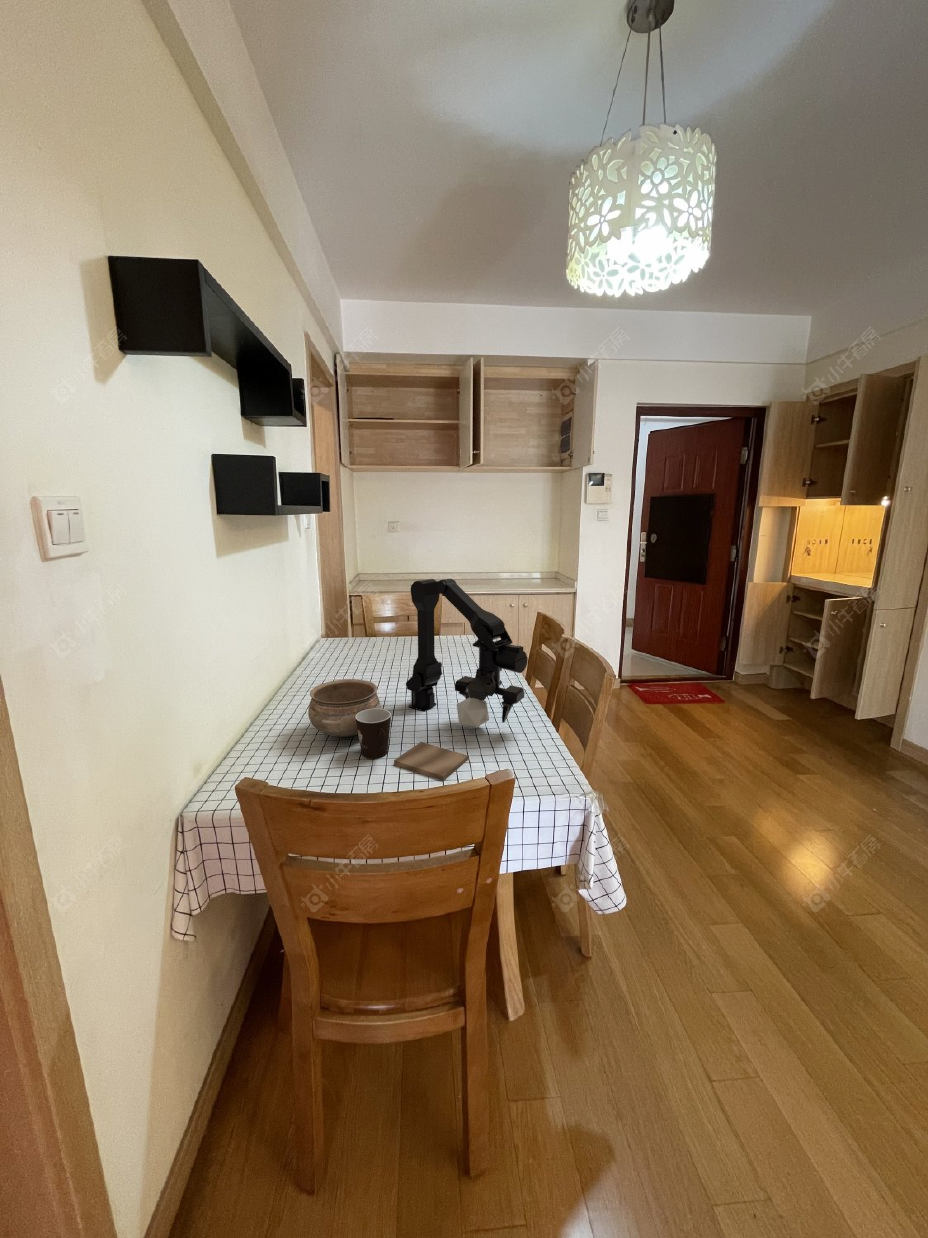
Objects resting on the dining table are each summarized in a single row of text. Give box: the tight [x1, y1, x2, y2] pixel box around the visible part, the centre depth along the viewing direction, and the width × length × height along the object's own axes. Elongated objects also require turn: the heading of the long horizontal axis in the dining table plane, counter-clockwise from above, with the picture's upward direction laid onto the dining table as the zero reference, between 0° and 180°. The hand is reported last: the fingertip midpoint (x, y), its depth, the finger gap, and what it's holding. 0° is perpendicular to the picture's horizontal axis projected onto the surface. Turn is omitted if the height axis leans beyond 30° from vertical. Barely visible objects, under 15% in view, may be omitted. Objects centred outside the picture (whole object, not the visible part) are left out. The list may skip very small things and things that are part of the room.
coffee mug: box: [355, 708, 392, 760], centre depth 118 cm, size 12×9×10 cm
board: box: [393, 741, 469, 782], centre depth 116 cm, size 14×11×1 cm
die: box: [456, 697, 490, 730], centre depth 132 cm, size 8×9×10 cm
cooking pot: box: [307, 678, 382, 739], centre depth 130 cm, size 25×19×12 cm
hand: (488, 718), depth 133 cm, fingers open, 9 cm apart
